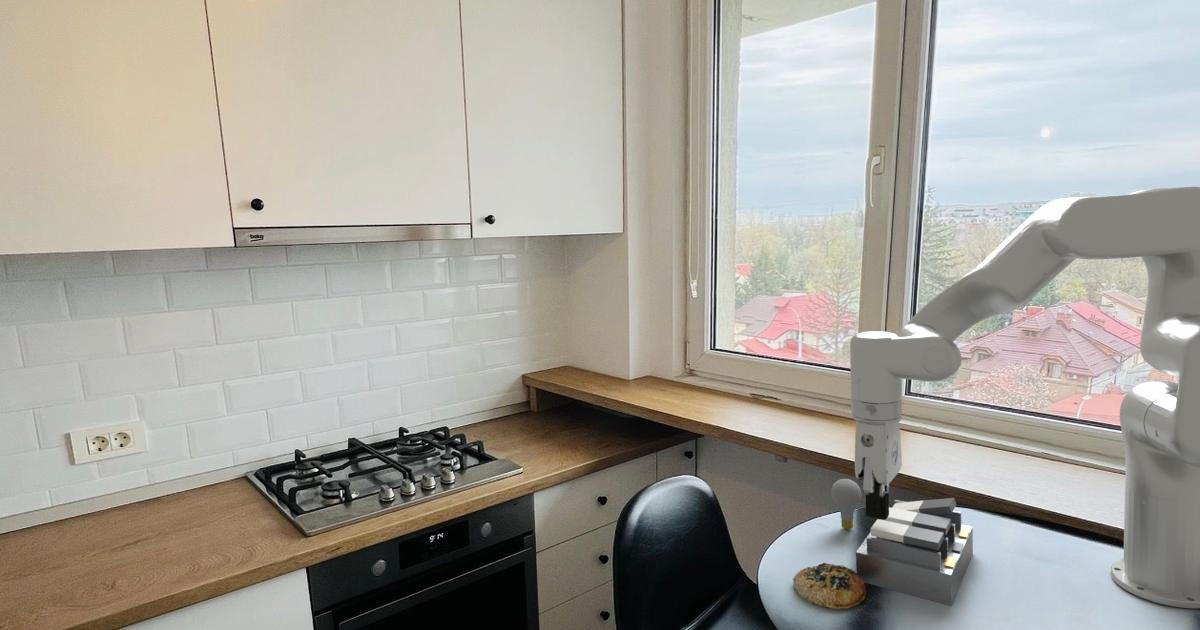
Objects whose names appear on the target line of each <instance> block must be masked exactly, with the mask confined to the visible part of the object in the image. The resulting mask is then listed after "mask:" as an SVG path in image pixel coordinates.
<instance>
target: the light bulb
mask: <svg viewBox="0 0 1200 630" xmlns="http://www.w3.org/2000/svg"><path fill="white" fill-rule="evenodd" d="M830 492H831V493H830V496H831V498H832V500H833V503H834V504H835V505H836V507H837V508H838V510H839V512H840V518H841V520H840V521H841V527H842V529H845V530H847V531H849V530H852V529H853V528H854V512H855V511H856V509H857V508H858V507H859V505H860V503H861V501H862V497H863V496H862V490H861V487H860V486H859V484H858V483H857V482H855V480H852V479H850V478H840V479H838V480H837V481H835V482H834V483H833V484H832V486H831V489H830Z"/></svg>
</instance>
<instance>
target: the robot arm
mask: <svg viewBox="0 0 1200 630" xmlns="http://www.w3.org/2000/svg"><path fill="white" fill-rule="evenodd" d="M1140 257H1141V258H1142V261H1143V263H1144V265H1145V267H1146V271H1147V276H1148V277H1147V280H1148V282H1147V283H1148V285H1147V297H1146V303H1145V309H1144V316H1143V322H1142V328H1141V335H1140V344H1139V349H1140V353H1141V356H1142V358H1143V360H1144V361H1145V363H1147V364H1148V365H1149V366H1151V367H1152V368H1154V369H1155V370H1157V371H1160V372H1161V373H1164V374H1167V375H1169V376H1172V377H1175V378H1178V382H1177V383H1176V382H1174V381H1173V382H1172V381H1169V380H1168V381H1167V380H1151V381H1145V382H1142V383H1139V384H1138V385H1135V386H1134V387H1133V388H1132V387H1131V389H1130V390H1129V391H1128V392H1127V393H1126V394H1125V395H1124V397H1123V398H1122V400H1121V404H1120V408H1119V421H1120V431H1121V435H1122V436H1121V437H1122V441H1123V445H1124V446H1123V447H1124V457H1125V458H1124V459H1125V480H1124V481H1125V482H1124V516H1123V517H1124V518H1123V520H1124V521H1123V524H1124V525H1123V526H1124V528H1123V559H1119V560H1117V561H1115V562H1114V563H1112V565H1111V566H1110V576H1111V578H1112V580H1113V581H1114V582H1115V583H1116V584H1117V585H1118V586H1119V587H1121V588H1122V589H1123V590H1125V591H1126V592H1128V593H1129V594H1133V595H1134V596H1137V597H1139V598H1140V599H1144V600H1147V601H1149V602H1153V603H1157V604H1161V605H1165V606H1168V607H1169V606H1170V607H1174V608H1183V609H1200V186H1183V187H1181V186H1180V187H1170V188H1168V187H1167V188H1165V187H1162V188H1161V187H1160V188H1151V189H1149V188H1148V189H1144V190H1137V191H1134V192H1131V193H1129V194H1117V195H1115V194H1114V195H1103V196H1102V195H1101V196H1099V195H1098V196H1082V197H1080V196H1079V197H1068V198H1066V197H1065V198H1059V199H1055V200H1052V201H1049V202H1048V203H1046V204H1043V206H1041V207H1040V208H1038V209H1037V210H1036V211H1035V212H1034V213H1032V214H1031V215H1030V216H1029V217H1028V218H1027V219H1025V220H1024V222H1023V223H1022V224H1021V225H1019V227H1018V228H1017V229H1016V230H1014V231H1013V232H1012V234H1011V235H1009V236H1007V238H1006V239H1005V240H1004V241H1003V242H1002V243H1001V244H1000V245H999V246H998V247H996V249H994V251H992V252H991V253H990V254H989V255H988V256H987V257H986V258H985V259H984V260H983V261H982V262H981V263H980V264H979V265H977V267H975V268H974V269H973V270H971V271H969V272H967V274H965V275H964V276H962V277H961V278H959V279H958V280H957V281H956V282H954V283H953V284H951V285H949V287H947V288H946V289H943V291H941V292H940V293H938V294H937V295H936V296H934V297H933V298H932V299H931V300H930V301H929V302H927V303H926V304H925V305H924V306H923V307H922V308H921V309H920V310H919V311H918V312H916V313H915V314H914V315H913V316H912V317H911V318H910V319H909V320H908V321H907V322H906V323H905V324H904V325H903V326H902V328H900V330H899V331H898V332H897V334H896V333H894V332H893V333H892V332H889V331H881V330H872V331H871V330H870V331H862V332H858V333H856V334H854V335H853V336H852V337H851V338H850V343H849V344H850V345H849V348H850V349H849V350H850V351H849V352H850V353H849V354H850V355H849V357H850V363H849V364H850V403H851V404H850V405H851V406H850V407H851V409H850V410H851V412H850V413H851V414H850V415H851V418H852V419H853V420H855V422H856V423H855V437H854V438H855V439H854V472H855V473H854V474H855V478H856V479H857V480H858V481H859V482H861V481H862V480H863V483H862V484H863V485H862V486H863V487H862V490H863V492H864V493H865V515H866V516H867V517H868V518H873V519H876V520H877V519H879V520H880V519H882V520H886V519H887V517H888V516H889V507H890V494H889V490H890V483H891V482H892V481H893V479H894V478H896V476H897V475H898V474H899V472H900V471H901V469H902V466H903V461H902V459H903V458H902V443H901V442H902V441H901V440H902V439H901V428H900V427H901V426H900V422H901V421H902V419H903V415H902V414H903V412H902V411H903V406H902V405H903V404H902V403H903V402H902V401H903V399H902V398H903V397H902V396H903V393H902V391H903V384H902V383H903V381H902V380H904V379H905V380H912V381H919V382H928V383H929V382H930V383H937V382H942V381H947V380H948V379H950V378H951V377H953V376H954V375H956V374H957V372H958V371H959V370H960V367H961V364H962V355H961V354H962V353H961V351H960V348H959V347H958V346H957V344H956V343H955V341H956V340H957V339H958V338H959V337H960V336H961V335H963V334H964V333H965V332H966V331H968V330H969V329H971V328H972V327H973V326H975V325H977V324H979V323H980V322H982V321H984V320H987V319H989V318H993V317H996V316H999V315H1003V314H1007V313H1010V312H1013V311H1015V310H1017V309H1020V308H1022V307H1024V306H1025V305H1026V304H1027V303H1029V302H1030V301H1031V300H1032V299H1033V298H1034V297H1035V296H1036V295H1037V294H1039V293H1040V292H1041V291H1042V290H1043V289H1044V288H1045V287H1046V286H1047V285H1049V284H1050V282H1052V281H1053V279H1055V278H1056V277H1057V276H1058V275H1060V273H1061V272H1063V271H1064V270H1066V268H1067V267H1069V265H1071V264H1072V263H1073V262H1074V261H1075V260H1076V259H1079V260H1087V261H1089V260H1113V259H1129V258H1130V259H1131V258H1140Z"/></svg>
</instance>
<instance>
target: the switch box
mask: <svg viewBox="0 0 1200 630" xmlns="http://www.w3.org/2000/svg"><path fill="white" fill-rule="evenodd" d="M903 502H906V500H905V501H903V500H898V499H894V500H893V505H894V504H895V503H903ZM933 516H938V517H943V518H948V519H951V527H950V529H949V530H948V532H947V534H946V535H944V540H943V542H942V544H941V546H940V548H939V550H934V549H930V548H925V547H921V546H916V545H912V544H907V543H905V544H904V543H902V542H898V541H894V540H889V539H884V538H880V537H875V536H871V531H870V532H869V533H868V535H867V536H866V537H865V539H864V540H863V542H862V543H861V544H860V546H859V547H858V549H857V550H856V551H855V566H856V573H857V575H858V576H859V577H860V578H861V579H862V580H863V582H864V584H870V585H872V586H877V587H879V588H880V587H881V588H884V589H888V590H892V591H895V592H899V593H903V594H905V595H906V594H907V595H910V596H912V597H913V596H914V597H918V598H921V599H926V600H929V601H933V602H936V603H941V604H944V605H947V606H953V603H954V601H955V598H956V596H957V594H958V591H959V589H960V587H961V584H962V582H963V579H964V576H965V574H966V571H967V570H968V568H969V564H970V562H971V560H972V556H973V555H974V551H973V550H974V540H973V539H974V538H973V535H974V533H973V530H974V529H973V526H971V525H965V524H962V511H958V510H955V509H954V510H953V512H952V513H949V514H936V515H933Z"/></svg>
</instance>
